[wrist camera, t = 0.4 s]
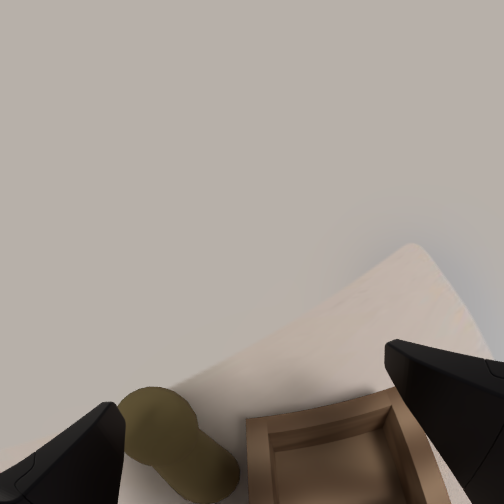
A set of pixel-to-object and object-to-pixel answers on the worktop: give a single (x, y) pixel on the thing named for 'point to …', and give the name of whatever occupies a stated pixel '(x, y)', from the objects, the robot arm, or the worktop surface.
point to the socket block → (343, 455)
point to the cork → (177, 445)
